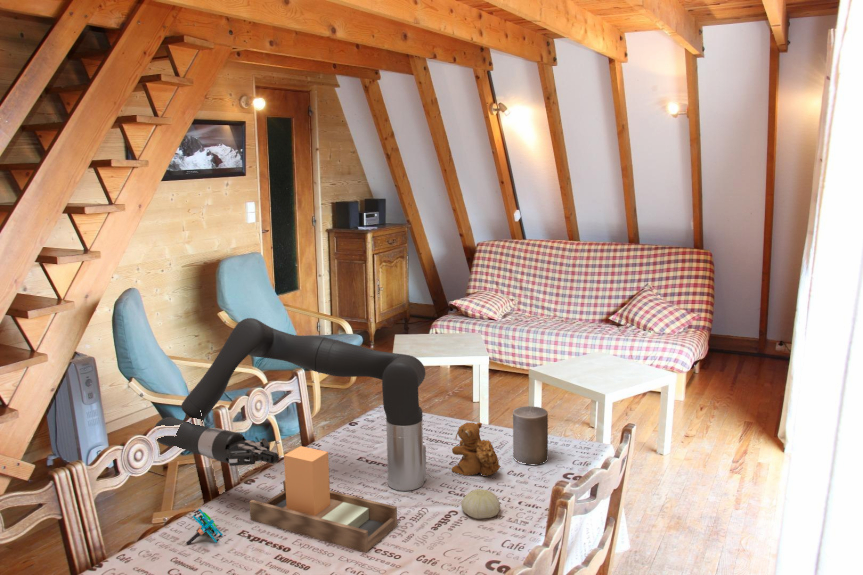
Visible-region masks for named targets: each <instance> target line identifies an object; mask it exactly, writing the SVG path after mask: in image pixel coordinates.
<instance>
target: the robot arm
mask: <svg viewBox="0 0 863 575" xmlns="http://www.w3.org/2000/svg"><path fill="white" fill-rule="evenodd" d="M248 356H250V357H253V358H260V359H261V358H263V359H270V360H277V361H283V362H288V363H290V364H293V365H296V366H299V367H300V368H304V369H306V370H310V371H313V372H316V373H320V374H324V375H327V376H332V377H338V378H339V377H340V378H341V377H342V378H354V377H355V378H357V377H359V378H361V377H362V378H363V377H365V378H374V379H378V380H381V388H382V389H381V390H382V403H383V405H382V406H383V410H384V414H385V417H386V418H385V419H386V420H385V422H386V423H385V424H386V426H385V427H386V456H387V457H386V459H387V461H386V462H387V464H386V465H387V485H388V486H389V488H391V489H393V490H395V491H396V490H397V491H403V492H405V491H406V492H407V491H412V490H413V491H414V490H417V489H419V488H421V487H422V486H423V485H424V482H426V481H427V452H426V451H427V448H426V445H424V433H423V432H424V430H423V429H424V427H423V426H424V424H423V423H424V422H423V420H424V419H423V409H422V407H421V406H420V404H419V403H420V402H419V401H420V400H419V387H420V386H421V384H422V383H423V382H424V380H425V378H426V369H425V366H424V364H423V363H422V362H421V360H420V359H418V358H417V357H416V356H413V355H410V354H403V353H395V352H389V351H383V350H382V351H380V350H376V349H375V350H374V349H372V348H367V347H364V346H361V345H358V344H353V343H350V342H349V343H348V342H345V341H341V340H338V339H334V338H330V337H326V336H319V335H318V336H317V335H298V334H291V333H288V332H284V331H282V330H279V329H276V328H274V327H271V326H269V325H267V324H266V323H264V322H262V321H261V320H259V319H257V318H254V317H253V318H252V317H248V318H244V319H242V320H241V321H239V322H238V323H237V324H236V325H235V326H234V328H233V329H232V331H231V332H230V334H229V336H228V338H227V339H226V341H225V343H224V344H223V346H222V348H221V349H220V351H219V352H218V354H217V356H216V357H215V359H214V360H213V362H212V363H211V365H210V367H209V368H208V370H207V371H206V373H205V374H204V375H203V376H202V378H201V379H200V380H199V382H198V383H197V384H196V385H195V386H194V387H193V389H192V390H191V391H190V392H189V393H188V395H187V396H186V397H185V398H184V399H183V402H182V403H181V410H182V411H183V413H185V416H184V419H183V420H182V419H179V418H176V417H173V416H171V417H169V416H168V417H163V418H162V419H160V420H158V422H157V423H156V424H155V425H154V427H156V426H161V425H165V426H174V425H179V424H181V423H183V424H181V425H180V427H179V429H178V431H177V433H176V435H177V436H175V437H174V436H164V437H161V438H158V439H157V440H156V442H158V443H159V444H161V445H163V446H166V447H168V448H171V446H172V445H173V446H177V447H179V448H182V449H183V450H185V451H188V452H189V453H192V454H196V455H199V456H202V457H206V458H208V459H211V460H214V461H218V462H223V463H225V464H228V466H230V467H235V466H248V465H249V466H250V465H255V464H256V463H262V462H264V463H269V464H272V465H274V464H276V463H278V462H279V453H278V452H276V451H275V452H274V451H271V449H270V448H271V445H270V444H269V442H268V440H267V438H264V437H263V438H261V439H260V441H258V442H257V441H254V440H247V439H246V438H245V436H244V435H243V434H242V433H240V432H236V431H232V430H226V429H222V428H216V427H210V426H205V425H203V424H204V421H205V420H206V417H207V416H208V415H209V413H210V412H211V411H212V410H213V408H214V407H215V406H216V405H217V404H218V402H219V401H220V400H221V398H222V397H223V395H224V393H225V392H226V389H227V388H228V386H229V385H228V384H229V382H230V380H231V378H232V375H233V374H234V372H235V370H236V369H237V368H238V366H239V365H240V364H241V363H242V362H243V360H245V359H246V358H247V357H248ZM200 410H201V412H200ZM201 413H202V416H201ZM187 415H188V416H189V417H192V418H197V419H201V421H202V420H203V422H202V426H200V425H195V424H191V423H189V422H184V421H185V420H186V417H187Z"/></svg>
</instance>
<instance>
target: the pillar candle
mask: <svg viewBox="0 0 863 575" xmlns="http://www.w3.org/2000/svg"><path fill="white" fill-rule="evenodd" d="M548 414H549V413H548V410H546V409H545V408H543V407H540V406H534V405H533V406H531V405H530V406H520V407H517V408H516V407H515V408H514V409H513V410H512V449H513V452H512V453H513V454H512V455H513V456H512V457H514V458H515V459H516V460H517V461H519V462H522V463H526V464H539V465H541V464H540V463H543V462H545V461H546V460H547V456H549V455H548V453H549V452H548V451H549V449H548V448H549V445H548V444H549V443H548V442H549V440H548V439H549V438H548V436H549V435H548V434H549V431H548V429H549V427H548V424H549V418H548V417H549V415H548ZM514 458H513V459H514ZM547 461H548V460H547ZM545 463H546V462H545ZM543 464H544V463H543Z"/></svg>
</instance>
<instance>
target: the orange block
mask: <svg viewBox="0 0 863 575" xmlns="http://www.w3.org/2000/svg"><path fill="white" fill-rule="evenodd" d="M283 460H284V461H283V463H284V479H285V485H286V505H287V509H291V510H294V511H298V512H302V513H305V514H309V515H313V516H315V515H317V514H318V513H319V512H321V511H322V510H324V509H325V508H326V507H328V506H329V505H330V491H331V488H330V487H331V486H330V464H329V462H330V461H329V451H325V450H320V449H316V448H311V447H306V446H301V445H300V446H299V447H296V448H294V449H292V450H291V451H288V453H286V454H285V453H284V455H283Z"/></svg>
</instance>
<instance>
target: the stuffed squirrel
mask: <svg viewBox="0 0 863 575" xmlns="http://www.w3.org/2000/svg"><path fill="white" fill-rule="evenodd" d="M482 425H483V424H482V422H477V423H475V422H467V423H463V424H461V425H460V426H459V428H458V430H457V433H456V434H455V437H454V439H455V440H456V441H457V440H458V438H460V440H459V445H454V446H453V447H452V450H451V451H452V454H453V455H455V456H459V455H460V456H461V455H462V457H461V459H460V460H459V461H458V464H456V465H454V466H452V468H451V472H452V473H454V472H455V474H457V473H459V474H458V475H461V474H463V475H462V476H475V475H474V474H476V475H478V473H479V474H480V475H481V474H482V475H487V476H486V477H489V476H491V475H494V474H496V473H498V471H499V470H500V468H501V465H500V464H499V463H500V461H499V459H498V455H497V454H496V451H495V448H494V446H493V444H492V442H491V441H490V440H487V439H486V440H485V439H481V435H480V431H481V430H480V429H481V428H482ZM482 475H481V476H482ZM488 475H489V476H488Z"/></svg>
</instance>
